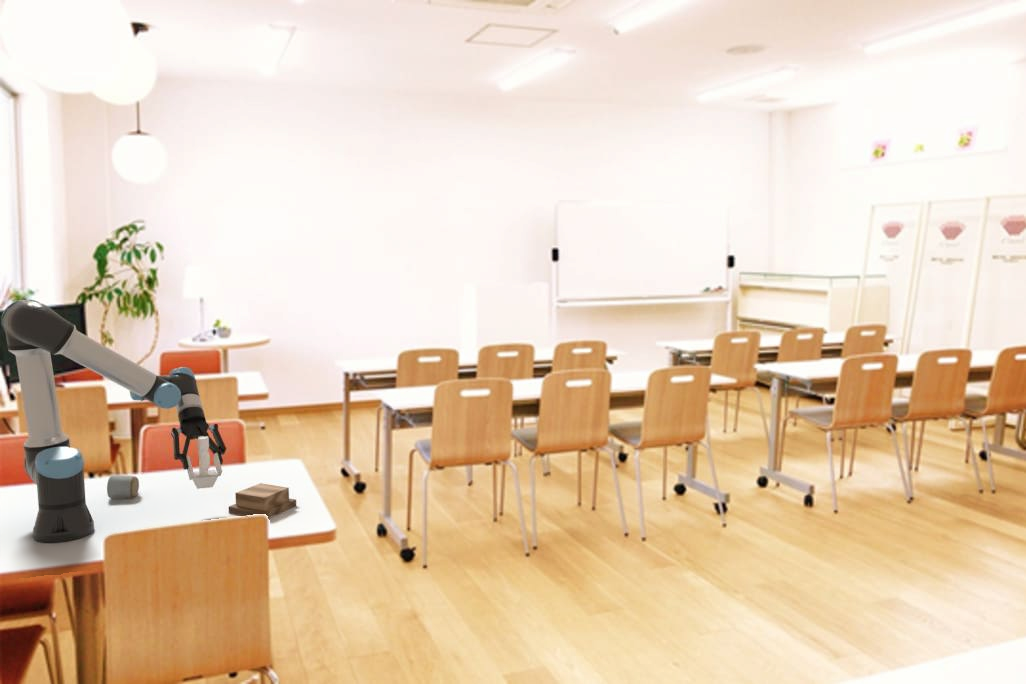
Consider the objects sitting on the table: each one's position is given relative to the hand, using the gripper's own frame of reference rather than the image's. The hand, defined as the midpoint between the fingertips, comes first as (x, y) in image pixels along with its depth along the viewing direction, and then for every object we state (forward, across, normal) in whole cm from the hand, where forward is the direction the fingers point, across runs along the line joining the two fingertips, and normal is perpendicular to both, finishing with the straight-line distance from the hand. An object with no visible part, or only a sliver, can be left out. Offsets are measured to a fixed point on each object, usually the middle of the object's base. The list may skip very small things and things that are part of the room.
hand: (206, 475), depth 253 cm
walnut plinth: (+11, -16, -6) cm, 20 cm away
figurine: (+1, 0, -6) cm, 6 cm away
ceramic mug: (-15, +16, -34) cm, 40 cm away
